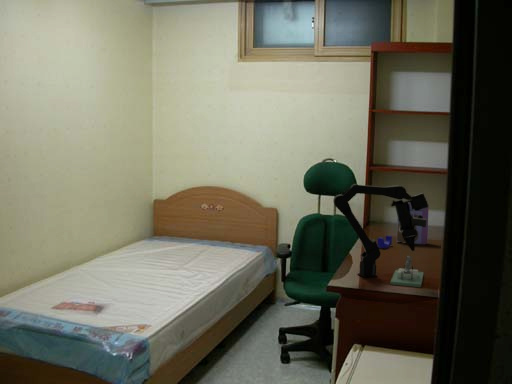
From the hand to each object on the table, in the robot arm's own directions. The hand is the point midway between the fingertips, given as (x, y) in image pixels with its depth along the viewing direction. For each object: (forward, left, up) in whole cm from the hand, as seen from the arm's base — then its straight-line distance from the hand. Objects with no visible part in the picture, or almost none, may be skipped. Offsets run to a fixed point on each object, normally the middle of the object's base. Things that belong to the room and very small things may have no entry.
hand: (412, 248), depth 232 cm
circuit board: (-4, -3, -13) cm, 14 cm away
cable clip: (+38, +65, -13) cm, 76 cm away
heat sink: (-4, -2, -11) cm, 12 cm away
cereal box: (+63, +70, -13) cm, 95 cm away
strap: (-4, -3, -7) cm, 8 cm away
